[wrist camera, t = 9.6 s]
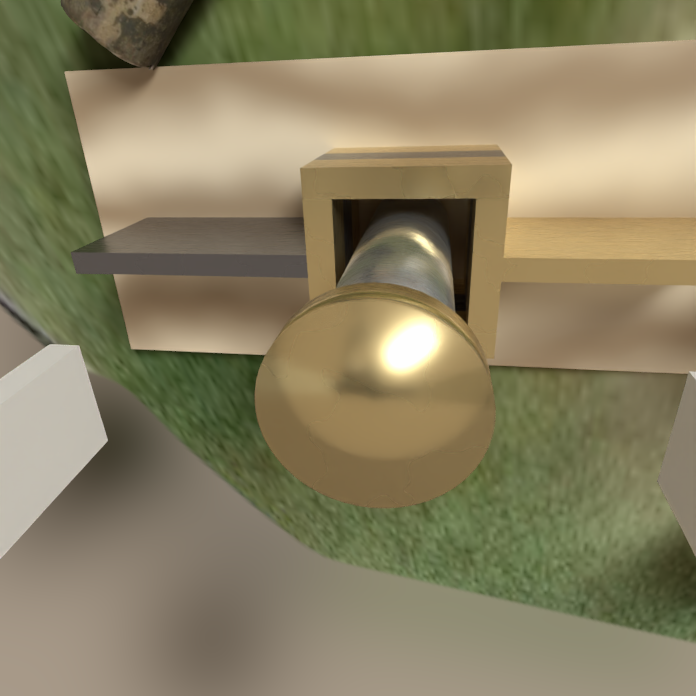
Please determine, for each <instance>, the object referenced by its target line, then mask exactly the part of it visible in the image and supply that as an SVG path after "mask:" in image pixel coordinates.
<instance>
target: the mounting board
mask: <svg viewBox="0 0 696 696" xmlns="http://www.w3.org/2000/svg"><path fill="white" fill-rule="evenodd" d="M148 69H149V67H146V68H124V69H104V70H85V71H65V76H66V80H67V84H68V89H69V93H70V97H71V101H72V105H73V109H74V113H75V118H76V122H77V126H78V130H79V134H80V138H81V142H82V147H83V151H84V155H85V159H86V163H87V167H88V171H89V176H90V180H91V184H92V188H93V192H94V196H95V200H96V205H97V209H98V213H99V217H100V221H101V225H102V229H103V234H104V237H105V236H108V235H110V234H112V233H114V232H116V231H119V230H121V229H123V228H125V227H127V226H130V225H132V224H134V223H136V222H138V221H141V220H143V219H145V218H147V217H304V215H303V202H302V188H301V175H300V168H301V167H303V166H304V165H306V164H308V163H309V162H311V161H313V160H315V159H316V158H318V157H320V156H321V155H323V154H325V153H326V152H328V151H330V150H331V149H333V148H355V147H401V146H447V145H493V144H497V145H498V146H499V147H500V149H501V150H502V152H503V153H504V154H505V156H506V157H507V158H508V160H509V161H510V162H511V164H512V172H511V183H510V194H509V205H508V215H507V217H603V218H696V40H681V41H662V42H642V43H622V44H602V45H582V46H562V47H542V48H522V49H502V50H482V51H463V52H443V53H423V54H403V55H383V56H363V57H343V58H323V59H303V60H284V61H264V62H244V63H224V64H204V65H184V66H164V67H156V68H155V70H154V71H153V70H148ZM382 200H383V199H359V217H360V240H361V238H362V236H363V234H364V232H365V230H366V228H367V226H368V224H369V222H370V220H371V219H372V217H373V215H374V213H375V211H376V209H377V207H378V205H379V204H380V203H381V201H382ZM439 200H440V202H441V203H442V204H443V206H444V207H445V210H446V212H447V215H448V220H449V233H450V247H451V261H452V275H453V279H464V264H465V248H466V231H467V215H468V198H465V199H439ZM113 275H114V279H115V283H116V287H117V292H118V296H119V300H120V304H121V308H122V312H123V316H124V321H125V325H126V329H127V333H128V337H129V341H130V345H131V349H143V350H165V351H187V352H209V353H232V354H254V355H266V354H267V352H268V350H269V349H270V347H271V345H272V344H273V342H274V341H275V339H276V338H277V336H278V335H279V333H280V332H281V330H282V329H283V327H284V325H285V324H286V323H287V321H288V320H289V319H290V318H291V317H292V316H293V314H294V313H295V312H297V311H298V310H299V309H300V308H301V307H302V306H303V305H305V304H306V303H308V302H309V301H310V297H309V283H308V278H283V277H232V276H182V275H131V274H113ZM487 362H488V365H499V366H521V367H543V368H566V369H588V370H610V371H632V372H655V373H677V374H688V373H689V371H692V372H696V286H690V285H639V284H588V283H537V282H501V290H500V301H499V312H498V322H497V333H496V344H495V354H494V359H487Z"/></svg>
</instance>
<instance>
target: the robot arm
mask: <svg viewBox="0 0 696 696" xmlns="http://www.w3.org/2000/svg"><path fill="white" fill-rule="evenodd" d="M107 441H108V439H107V436H106V433H105V429H104V426H103V423H102V420H101V416H100V413H99V410H98V407H97V403H96V400H95V396H94V393H93V390H92V387H91V383H90V380H89V377H88V373H87V370H86V367H85V364H84V360H83V357H82V354H81V350H80V347H79V346H78V345H55V344H50V345H48V346H47V347H45V348H44V349H42V350H41V351H39V352H38V353H37V354H35V355H34V356H32V357H31V358H29V359H28V360H27V361H25V362H24V363H22V364H21V365H19V366H18V367H16V368H15V369H14V370H12V371H11V372H9V373H8V374H6V375H5V376H4V377H2V378H1V379H0V559H1V557H2V556H3V555H4V554H5V553H6V552H7V551H8V550H9V549H10V547H11V546H12V545H13V544H14V543H15V542H16V541H17V540H18V539H19V538H20V537H21V536H22V534H23V533H24V532H25V531H26V530H27V529H28V528H29V527H30V526H31V525H32V524H33V522H34V521H35V520H36V519H37V518H38V517H39V516H40V515H41V514H42V512H43V511H44V510H45V509H46V508H47V507H48V506H49V505H50V504H51V502H53V500H54V499H55V498H56V497H57V496H58V495H59V494H60V493H61V492H62V490H63V489H64V488H65V487H66V486H67V485H68V484H69V483H70V482H71V481H72V479H73V478H74V477H75V476H76V475H77V474H78V473H79V472H80V471H81V469H83V467H84V466H85V465H86V464H87V463H88V462H89V461H90V460H91V459H92V458H93V456H94V455H95V454H96V453H97V452H98V451H99V450H100V449H101V448H102V446H104V444H105V443H106V442H107ZM657 482H658V484H659V486H660V488H661V490H662V491H663V493H664V495H665V497H666V499H667V501H668V503H669V505H670V507H671V509H672V511H673V513H674V515H675V517H676V519H677V521H678V523H679V525H680V527H681V529H682V531H683V533H684V535H685V537H686V539H687V541H688V543H689V545H690V547H691V549H692V551H693V553H694V555H695V557H696V372H692V371H689V373H688V376H687V380H686V383H685V387H684V390H683V394H682V397H681V401H680V404H679V408H678V411H677V414H676V418H675V421H674V425H673V428H672V432H671V435H670V439H669V442H668V446H667V449H666V453H665V456H664V460H663V463H662V466H661V470H660V473H659V477H658V480H657Z"/></svg>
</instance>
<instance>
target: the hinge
mask: <svg viewBox="0 0 696 696" xmlns="http://www.w3.org/2000/svg"><path fill="white" fill-rule="evenodd" d="M511 172H512V164H511V162H510V161H509V160H508V158H507V157H506V156H505V154H504V153H503V152H502V150H501V149H500V147H499V146H498V145H497V144H493V145H447V146H401V147H355V148H333V149H331V150H330V151H328V152H326V153H325V154H323V155H321V156H320V157H318V158H316V159H315V160H313V161H311V162H309V163H308V164H306V165H304V166H303V167H301V168H300V175H301V188H302V202H303V215H304V217H147V218H145V219H143V220H141V221H138V222H136V223H134V224H132V225H130V226H127V227H125V228H123V229H121V230H119V231H116V232H114V233H112V234H110V235H108V236H105V237H103V238H101V239H99V240H97V241H94V242H92V243H90V244H88V245H86V246H84V247H81V248H79V249H77V250H75V251H73V252H71V255H72V259H73V262H74V266H75V270H76V273H80V274H131V275H182V276H232V277H283V278H308V283H309V297H310V301H311V300H312V299H314V298H315V297H317V296H319V295H321V294H323V293H325V292H327V291H330V290H333V289H335V288H336V287H337V285H338V283H339V281H340V279H341V277H342V275H343V273H344V271H345V269H346V267H347V265H348V263H349V261H350V259H351V257H352V255H353V254H354V252H355V250H356V248H357V246H358V244H359V242H360V217H359V199H465V198H468V215H467V231H466V248H465V264H464V279H453V289H454V303H455V313H456V314H457V315H459V316H460V317H461V318H462V319H463V320H464V322H465V323H466V324H467V325H468V326H469V327H470V328H471V330H472V331H473V333H474V334H475V336H476V337H477V339H478V340H479V342H480V344H481V346H482V349H483V351H484V353H485V356H486V359H494V354H495V344H496V333H497V322H498V312H499V301H500V290H501V282H537V283H588V284H639V285H690V286H696V218H603V217H507V215H508V205H509V194H510V183H511Z"/></svg>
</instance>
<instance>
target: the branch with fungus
mask: <svg viewBox="0 0 696 696" xmlns="http://www.w3.org/2000/svg"><path fill="white" fill-rule="evenodd" d="M193 1H194V0H61V6H62V7H63V9H64V11H65V12H66V14H67V15H68V16H69V17H70V18H71V19H72V20H73V22H74V23H75V24H77V25H78V26H79V27H80V28H81V29H83V30H84V31H85V32H87V33H88V34H90V35H91V36H92V37H93V38H94V39H95V40H96V41H97V42H98V43H99V44H101V45H102V46H104V47H105V48H106V49H108V50H109V51H110V52H112V53H113V54H114V55H116V56H117V57H119V58H120V59H122V60H124V61H126V62H128V63H130V64H132V65H135V66H138V67H142V68H146V67H147V66H149V65H150V66H149V69H148V70H153V71H154V70H155V68H156V66H157V65H158V63H159V61H160V59H161V57H162V55H163V54H164V52H165V50H166V48H167V46H168V45H169V43H170V41H171V39H172V38H173V36H174V34H175V32H176V30H177V28H178V26H179V25H180V23H181V21H182V19H183V18H184V16H185V14H186V13H187V11H188V10H189V8H190V6H191V4H192V2H193Z"/></svg>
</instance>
